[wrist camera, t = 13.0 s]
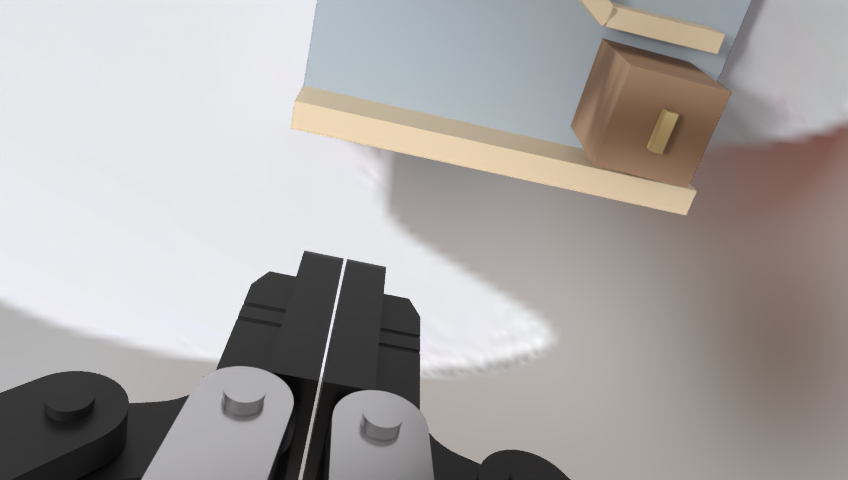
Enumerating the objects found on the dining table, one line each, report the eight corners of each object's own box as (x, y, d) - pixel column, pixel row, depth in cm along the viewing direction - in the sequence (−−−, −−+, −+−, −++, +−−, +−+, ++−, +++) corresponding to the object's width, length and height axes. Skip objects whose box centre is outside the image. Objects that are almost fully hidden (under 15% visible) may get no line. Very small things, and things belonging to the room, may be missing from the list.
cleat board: (339, -124, 36) (329, -124, 32) (748, -18, 38) (783, -6, 34) (302, 105, 41) (290, 128, 37) (663, 185, 44) (686, 215, 40)
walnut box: (602, 38, 38) (634, 68, 32) (689, 61, 39) (736, 95, 33) (570, 125, 41) (595, 169, 35) (653, 146, 41) (691, 192, 35)
